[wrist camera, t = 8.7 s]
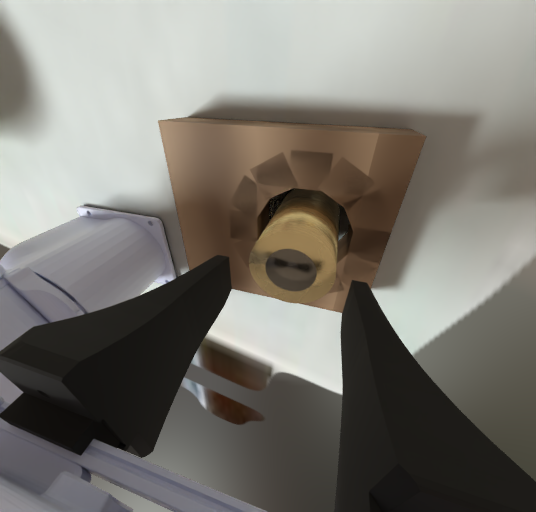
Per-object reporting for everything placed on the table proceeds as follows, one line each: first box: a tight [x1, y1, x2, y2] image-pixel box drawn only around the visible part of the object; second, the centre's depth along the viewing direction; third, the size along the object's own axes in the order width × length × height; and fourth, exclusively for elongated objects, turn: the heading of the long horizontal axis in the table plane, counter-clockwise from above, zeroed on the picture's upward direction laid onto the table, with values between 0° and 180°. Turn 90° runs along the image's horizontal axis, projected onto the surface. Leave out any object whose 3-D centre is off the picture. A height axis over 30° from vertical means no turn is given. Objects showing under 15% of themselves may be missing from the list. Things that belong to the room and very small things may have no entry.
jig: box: [158, 117, 426, 313], centre depth 17 cm, size 14×12×3 cm
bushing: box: [249, 188, 340, 303], centre depth 14 cm, size 4×4×7 cm
